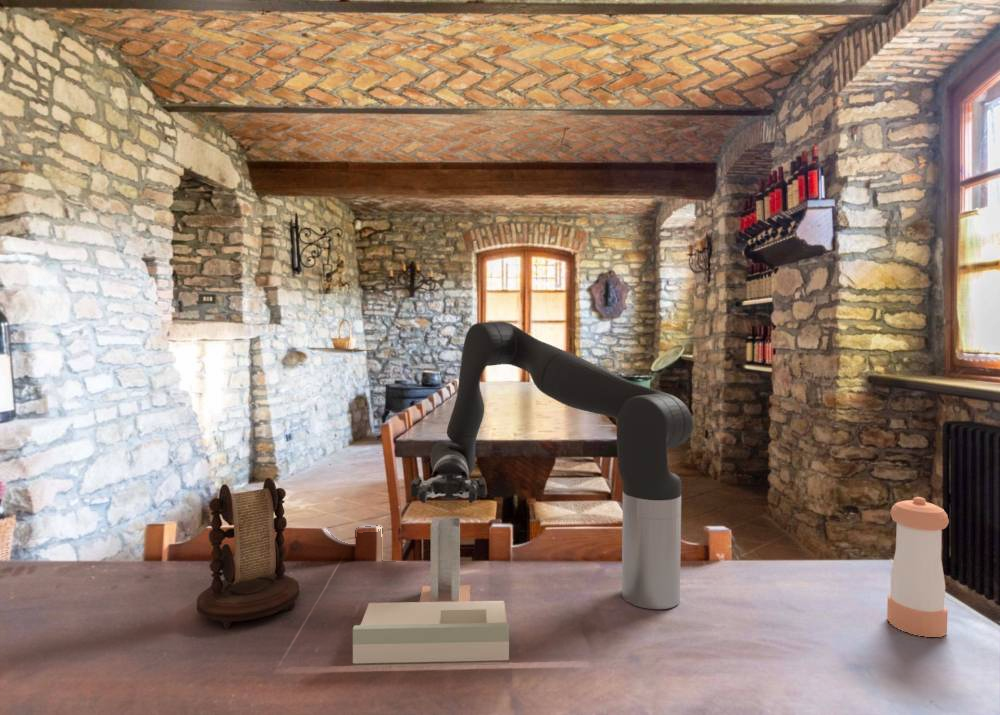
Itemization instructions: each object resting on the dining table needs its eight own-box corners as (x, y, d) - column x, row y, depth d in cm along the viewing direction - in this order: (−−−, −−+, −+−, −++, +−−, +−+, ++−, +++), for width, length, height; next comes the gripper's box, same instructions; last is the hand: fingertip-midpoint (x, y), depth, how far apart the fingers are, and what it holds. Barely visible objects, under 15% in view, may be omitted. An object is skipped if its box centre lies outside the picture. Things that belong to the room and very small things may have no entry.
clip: (432, 590, 98) (432, 518, 98) (459, 589, 98) (459, 517, 98) (430, 602, 94) (430, 526, 93) (459, 601, 94) (459, 526, 93)
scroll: (213, 642, 82) (211, 499, 82) (185, 606, 93) (183, 479, 93) (315, 610, 92) (314, 482, 91) (279, 581, 103) (278, 466, 102)
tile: (422, 589, 100) (422, 585, 100) (470, 588, 100) (470, 585, 100) (418, 611, 92) (418, 607, 92) (470, 610, 92) (470, 606, 92)
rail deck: (369, 622, 88) (369, 589, 88) (503, 620, 89) (504, 587, 89) (352, 667, 76) (352, 629, 76) (508, 664, 77) (509, 626, 77)
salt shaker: (939, 620, 89) (943, 494, 89) (953, 642, 83) (956, 506, 82) (883, 611, 92) (886, 489, 92) (891, 631, 86) (894, 500, 85)
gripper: (416, 457, 123) (407, 476, 106) (485, 458, 123) (487, 477, 107) (415, 493, 123) (407, 518, 107) (484, 493, 124) (486, 518, 107)
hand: (447, 497), depth 107 cm, fingers open, 8 cm apart
